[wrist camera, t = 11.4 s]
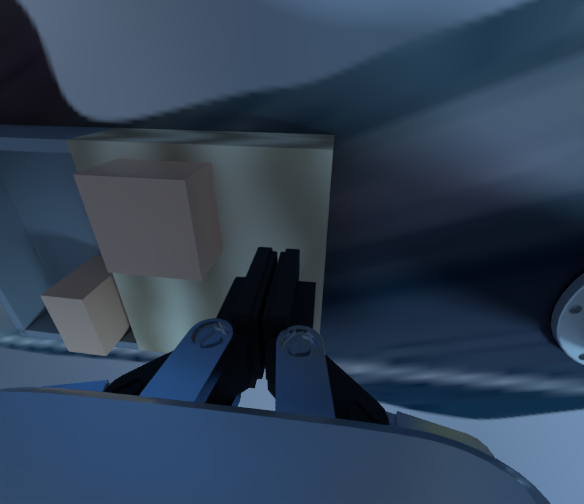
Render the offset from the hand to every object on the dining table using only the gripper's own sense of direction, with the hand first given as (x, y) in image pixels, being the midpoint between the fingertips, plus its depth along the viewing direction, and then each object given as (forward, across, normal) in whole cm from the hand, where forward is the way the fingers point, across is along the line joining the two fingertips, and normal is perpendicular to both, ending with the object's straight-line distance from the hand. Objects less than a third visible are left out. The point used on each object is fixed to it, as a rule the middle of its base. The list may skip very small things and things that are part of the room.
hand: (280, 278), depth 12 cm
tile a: (+9, +16, +10) cm, 21 cm away
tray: (+13, +20, +5) cm, 24 cm away
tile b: (+7, +8, 0) cm, 11 cm away
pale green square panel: (+12, +6, +5) cm, 15 cm away
